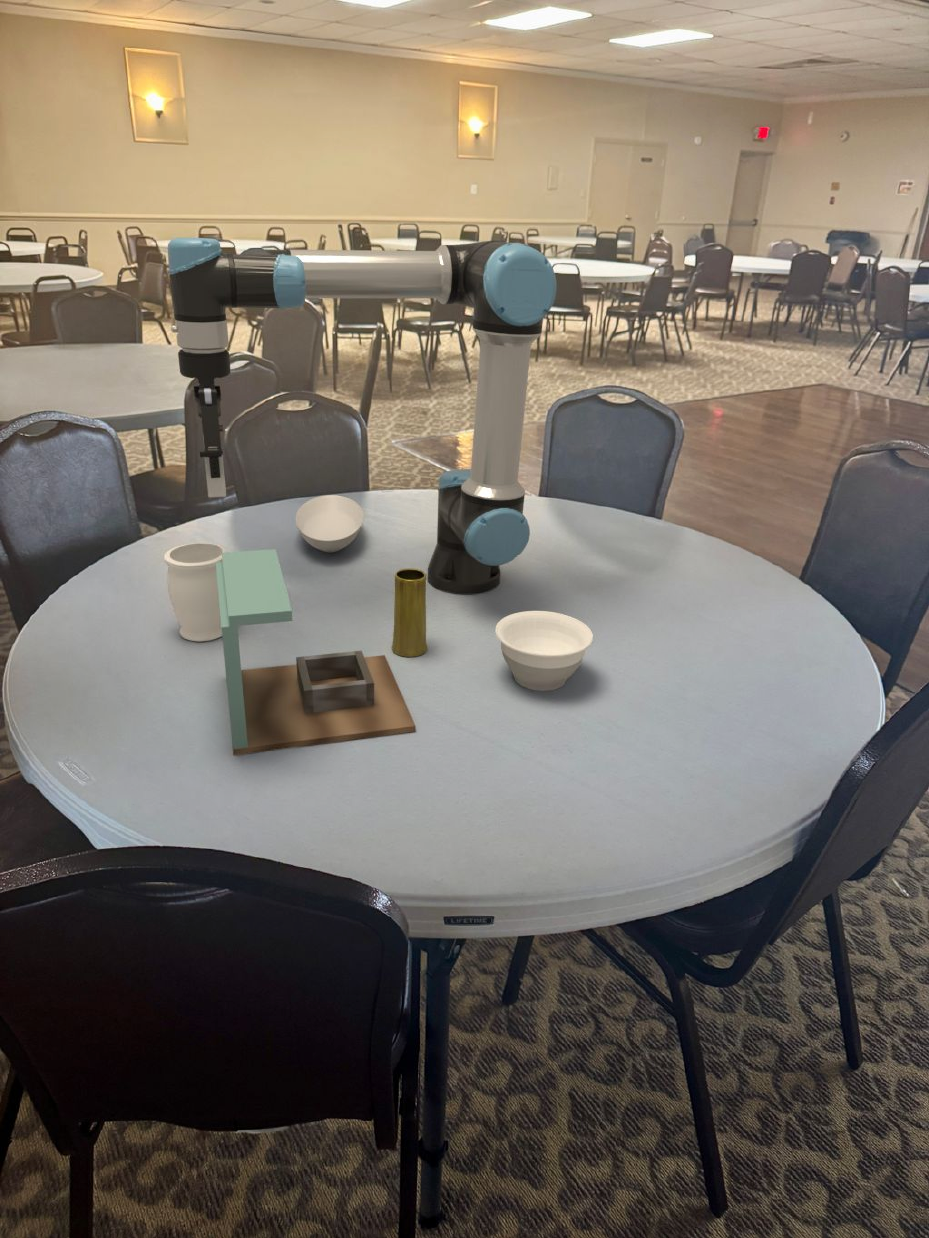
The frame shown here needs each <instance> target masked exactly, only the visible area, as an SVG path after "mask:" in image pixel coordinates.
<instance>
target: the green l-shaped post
mask: <svg viewBox="0 0 929 1238" xmlns="http://www.w3.org/2000/svg"><path fill="white" fill-rule="evenodd" d="M216 573H217V584H218V595H219V606H220V617H221V628H222V636H221V638H222V639H221V640H222V647H223V657H224V659H223V660H224V668H225V677H226V678H225V680H226V689H227V701H228V709H229V720H230V721H229V722H230V731H231V732H230V734H231V743H232V750H233V749H240V748H248V744H247V732H246V720H245V708H244V697H243V685H242V673H241V670H242V663H241V655H240V654H241V652H240V650H241V649H240V640H239V630H238V629H239V628H238V627H239V626H251V625H262V624H272V623H273V624H274V623H282V622H283V623H285V622H286V623H287V622H293V609H292V607H291V602H290V598H289V595H288V591H287V586H286V583H285V578H284V576H283V571H282V568H281V565H280V560H279V556H278V552H277V550H276V548H273V549H272V548H271V549H259V550H258V549H256V550H245V551H244V550H243V551H242V550H241V551H240V550H239V551H228V552H225V553H222V562H216Z"/></svg>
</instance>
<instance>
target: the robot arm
mask: <svg viewBox="0 0 929 1238" xmlns="http://www.w3.org/2000/svg"><path fill="white" fill-rule="evenodd" d="M167 257H168V259H167V261H168V276H169V284H170V285H169V286H170V291H171V299H172V300H171V301H172V307H173V308H172V309H173V316H174V324H175V325H171V328H170V330H171V332H172V333H176V344H177V346H178V347H179V348H181V349H180V350H179V351H178V352H177V356H178V364H179V366H178V367H179V373H180V374H181V376H183V377H185V378H188V379H197V381H198V385H194V386H193V393H194V394H193V395H194V400H195V402H196V407H197V415H198V417H199V418H200V419H201V425H202V427H201V428H202V439H203V447H204V450H203V451H199V457H200V458H204V464H205V465H204V467H205V475H206V487H207V496H208V498H209V499H210V498H225V497H227V490H226V489H227V488H226V478H225V468H224V455H223V451H224V450H223V449H222V441H221V432H224V426H223V424H220V421H219V420H220V419H219V418H220V417H221V416H222V409H221V408H222V407H221V401H222V393H221V386H220V385H215V379H217V378H218V379H221V378H225V377H228V376H229V375H230V374H231V360H230V352H229V350H227V349H226V348H227V347H228V346H229V345H230V343H229V342H230V341H229V332H228V331H229V330H228V319H227V313H226V308H231V309H237V308H245V309H246V308H247V309H249V308H250V309H251V308H254V309H255V308H256V309H280V310H286V309H297V308H301V307H303V306H304V304H305V302H306V299H436V300H437V301H438V302H439V303H440V304H441V305H458V306H463V307H464V306H465V307H468V308H473V313H472V314H473V315H472V316H473V317H472V329H471V330H473V332H474V333H475V334H476V335H477V337H478V338H479V340H480V345H479V354H478V355H479V357H478V358H479V359H478V371H477V383H476V384H477V385H476V397H475V411H474V412H475V413H474V421H473V422H474V425H473V438H472V449H471V450H472V452H471V465H470V468H469V469H468V468H466V469H464V468H463V469H453V470H452V469H451V470H448V471H445V472H443V473H442V474H441V475H440V476H439V479H438V480H439V481H438V486H437V491H438V494H437V495H438V497H437V502H438V503H437V527H436V529H437V530H436V531H437V532H436V533H437V535H436V536H437V537H436V539H437V540H436V545H435V548H434V550H433V552H432V555H431V558H430V561H429V563H428V566H427V576H426V580H427V581H428V583H429V584H430V585H431V586H433V587H434V588H435V589H439V590H441V591H443V592H446V593H450V594H457V595H458V594H459V595H474V594H483V593H487V592H490V591H492V590H495V589H496V588H497V587H498V586H499V585H500V583H501V573H502V572H501V568H500V566H502V565H506V564H509V563H510V562H512V561H514V560H515V559H516V558H517V557H518V556H519V555H521V554H522V553H523V552H524V550H525V549H526V547H527V545H528V543H529V539H530V535H531V533H530V531H531V528H530V526H529V523H528V519H527V518H526V516H525V515H524V507H525V506H524V504H525V494H526V490H525V488H524V487H523V486H522V484H521V483H520V482H519V480H518V479H519V471H520V469H519V468H520V462H521V461H520V460H521V448H522V441H523V440H522V439H523V430H524V418H525V410H526V409H525V408H526V399H527V388H528V381H529V380H528V379H529V369H530V360H531V359H530V358H531V349H532V345H533V343H534V342H535V341H536V340H537V339H538V338H539V337H540V336H542V331H543V323H544V317H545V316H546V315H547V314H548V313H549V312H550V310H551V309H552V307H553V305H554V303H555V299H556V294H557V288H558V287H557V278H556V274H555V273H556V272H555V271H554V268H553V265H552V264H551V263H550V261H549V260H548V258H547V257H546V256H545V255H544V254H543V253H542V252H540V251H539V250H537V249H536V248H533V247H531V246H529V245H528V244H525V243H519V242H506V241H501V240H487V241H485V240H484V241H478V242H472V243H462V244H440V246H439V247H437V249H436V250H369V249H368V250H367V249H366V250H363V249H362V250H361V249H360V250H359V249H358V250H357V249H356V250H355V249H351V250H350V249H336V250H335V249H270V248H269V249H265V248H262V247H248V248H247V249H244V250H242V251H241V252H240V254H234V253H227V252H226V253H225V252H223V249H222V248H221V243H220V241H219V240H218V239H215V238H206V237H174V238H172V239H171V240H170V241H169V242H168V244H167Z"/></svg>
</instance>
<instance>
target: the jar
mask: <svg viewBox="0 0 929 1238" xmlns="http://www.w3.org/2000/svg"><path fill="white" fill-rule="evenodd" d="M225 552H229V551H228V549H227V548H226V547H224V546H222V545H220V544H217V543H210V542H192V543H191V542H190V543H186V544H181V545H178V546H174V547H172V548H170V549H169V550H167V551H166V552H165V553H164V555H163V556H164V557H163V558H164V563H165V564H166V565H167V566H168V568H167V574H166V575H167V579H166V580H167V581H166V583H167V590H168V596H169V599H170V602H171V605H172V608H173V613H174V615H175V618H176V620H177V621H178V623H179V624H180V628H179V635H180V636H181V637H182V638H183V639H185V640H187V641H191V642H209V641H213V640H216V639H218V638H219V639H220V638H222V628H221V617H220V606H219V595H218V584H217V573H216V562H222V553H225Z"/></svg>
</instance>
